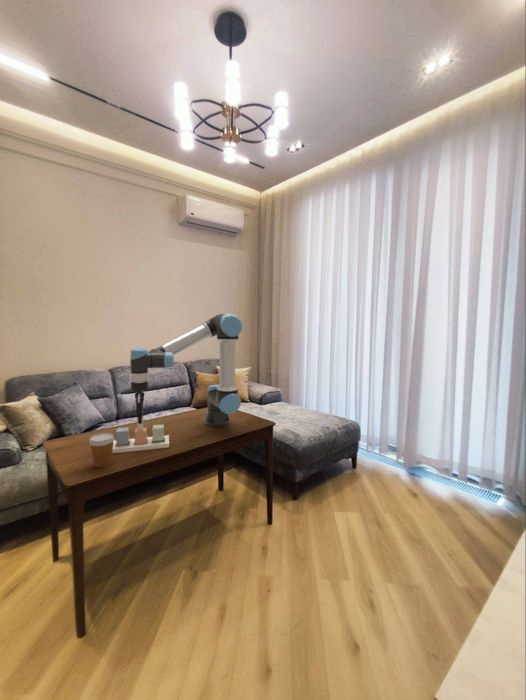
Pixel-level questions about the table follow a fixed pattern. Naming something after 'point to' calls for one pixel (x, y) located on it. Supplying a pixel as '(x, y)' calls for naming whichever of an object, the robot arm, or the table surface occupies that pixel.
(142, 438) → the terracotta block
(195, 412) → the table surface
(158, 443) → the board
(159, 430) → the sage block
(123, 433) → the slate block
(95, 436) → the disposable coffee cup
